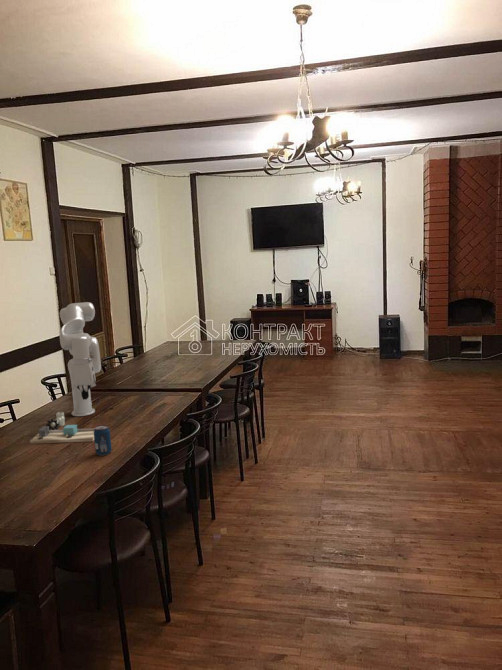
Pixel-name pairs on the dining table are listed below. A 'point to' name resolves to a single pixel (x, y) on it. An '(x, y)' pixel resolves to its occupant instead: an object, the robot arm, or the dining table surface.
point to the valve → (57, 421)
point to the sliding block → (70, 430)
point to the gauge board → (62, 436)
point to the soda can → (102, 440)
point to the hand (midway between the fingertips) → (85, 398)
